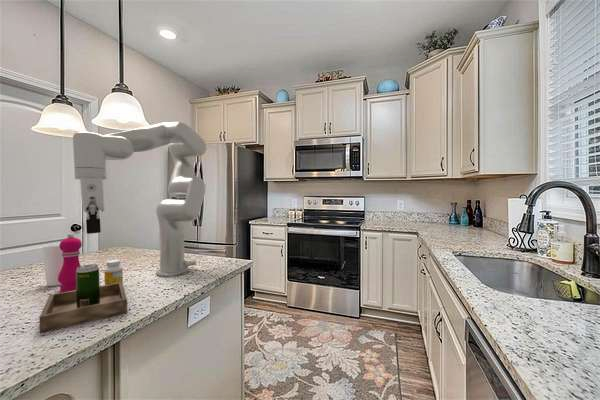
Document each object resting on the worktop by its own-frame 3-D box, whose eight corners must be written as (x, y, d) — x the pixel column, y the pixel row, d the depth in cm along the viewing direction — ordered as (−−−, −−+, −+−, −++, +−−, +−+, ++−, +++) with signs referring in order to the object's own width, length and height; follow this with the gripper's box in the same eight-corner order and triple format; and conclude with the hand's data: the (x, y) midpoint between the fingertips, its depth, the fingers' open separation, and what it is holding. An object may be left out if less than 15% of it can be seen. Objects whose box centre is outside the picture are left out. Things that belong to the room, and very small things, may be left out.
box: (122, 293, 91) (122, 282, 90) (127, 313, 76) (126, 299, 76) (50, 307, 80) (49, 294, 80) (39, 333, 65) (39, 317, 65)
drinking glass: (54, 281, 103) (53, 242, 102) (73, 281, 103) (72, 242, 103) (38, 287, 96) (37, 246, 96) (58, 287, 97) (57, 246, 96)
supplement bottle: (102, 288, 96) (101, 261, 96) (119, 284, 100) (118, 258, 100) (108, 291, 93) (107, 263, 92) (125, 286, 97) (125, 260, 97)
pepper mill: (69, 293, 91) (68, 235, 90) (52, 292, 92) (51, 234, 91) (90, 286, 98) (88, 232, 97) (74, 285, 99) (72, 231, 99)
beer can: (98, 308, 77) (97, 267, 77) (74, 312, 75) (73, 270, 74) (101, 301, 82) (100, 263, 82) (79, 305, 79) (78, 265, 79)
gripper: (107, 173, 76) (110, 233, 77) (105, 175, 89) (107, 226, 90) (73, 173, 71) (76, 236, 72) (75, 175, 85) (78, 228, 86)
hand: (93, 230), depth 81 cm, fingers open, 9 cm apart
